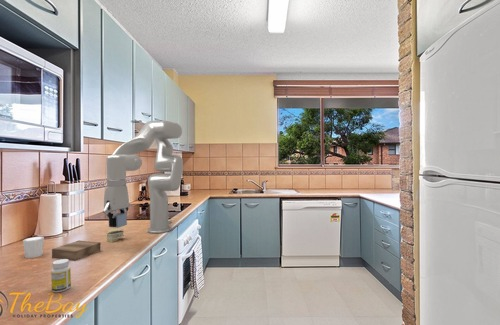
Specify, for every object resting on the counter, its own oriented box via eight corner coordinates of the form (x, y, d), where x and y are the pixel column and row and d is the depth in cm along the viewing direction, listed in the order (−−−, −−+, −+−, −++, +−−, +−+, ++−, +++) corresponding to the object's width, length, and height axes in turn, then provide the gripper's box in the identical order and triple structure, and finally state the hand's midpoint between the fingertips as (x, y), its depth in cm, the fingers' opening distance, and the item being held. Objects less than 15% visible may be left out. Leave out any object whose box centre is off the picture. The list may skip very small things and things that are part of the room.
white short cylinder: (27, 253, 113) (26, 237, 113) (46, 251, 115) (46, 235, 115) (19, 259, 106) (19, 241, 106) (40, 257, 109) (40, 239, 109)
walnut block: (78, 249, 119) (78, 240, 119) (100, 251, 116) (100, 242, 116) (52, 258, 108) (51, 249, 108) (75, 261, 104) (75, 251, 104)
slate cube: (117, 224, 121) (117, 212, 120) (126, 224, 119) (126, 213, 119) (108, 227, 116) (108, 215, 116) (118, 227, 114) (118, 216, 114)
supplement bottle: (62, 284, 84) (62, 257, 84) (74, 286, 83) (74, 259, 83) (47, 291, 80) (47, 263, 80) (59, 293, 78) (59, 264, 78)
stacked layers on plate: (113, 244, 125) (113, 233, 125) (99, 242, 128) (99, 231, 128) (130, 239, 135) (130, 228, 135) (116, 237, 138) (116, 226, 138)
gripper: (124, 181, 126) (125, 219, 127) (93, 185, 110) (94, 229, 110) (137, 181, 124) (138, 220, 125) (108, 186, 108) (109, 231, 108)
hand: (117, 224), depth 118 cm, fingers closed on slate cube, 5 cm apart
